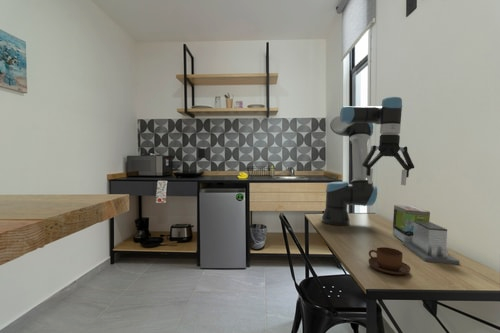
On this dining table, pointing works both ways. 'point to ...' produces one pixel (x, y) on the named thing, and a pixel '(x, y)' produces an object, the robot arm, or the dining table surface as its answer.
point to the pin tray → (432, 258)
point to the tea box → (407, 221)
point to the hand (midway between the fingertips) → (386, 184)
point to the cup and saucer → (388, 261)
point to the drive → (429, 237)
